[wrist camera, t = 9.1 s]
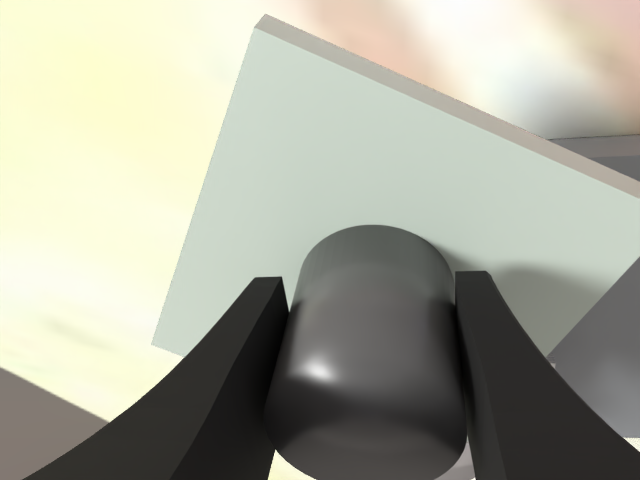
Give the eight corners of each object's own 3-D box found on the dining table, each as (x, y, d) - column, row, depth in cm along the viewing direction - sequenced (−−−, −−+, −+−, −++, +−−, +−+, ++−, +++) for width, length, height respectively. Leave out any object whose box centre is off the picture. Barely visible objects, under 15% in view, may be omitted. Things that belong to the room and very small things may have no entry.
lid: (660, 190, 13) (779, 362, 8) (450, 428, 18) (462, 607, 13) (265, 13, 12) (183, 111, 7) (163, 319, 17) (82, 477, 12)
